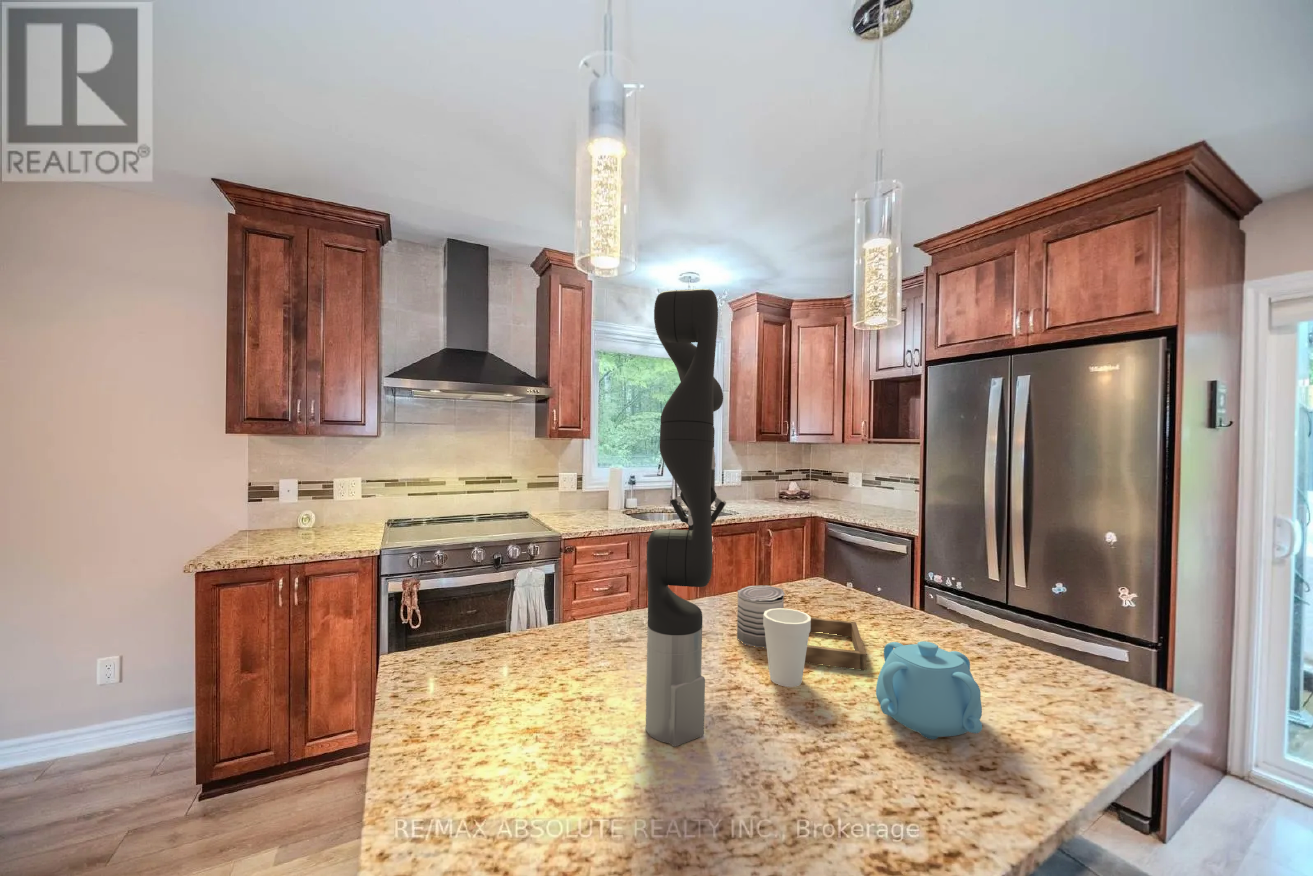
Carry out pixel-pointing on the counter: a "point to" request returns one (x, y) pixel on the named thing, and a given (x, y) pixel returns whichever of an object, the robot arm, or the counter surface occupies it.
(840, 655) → the tray
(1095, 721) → the counter surface
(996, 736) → the counter surface
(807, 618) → the foam cup
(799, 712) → the counter surface
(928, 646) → the decorative pot
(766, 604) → the can
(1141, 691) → the counter surface
